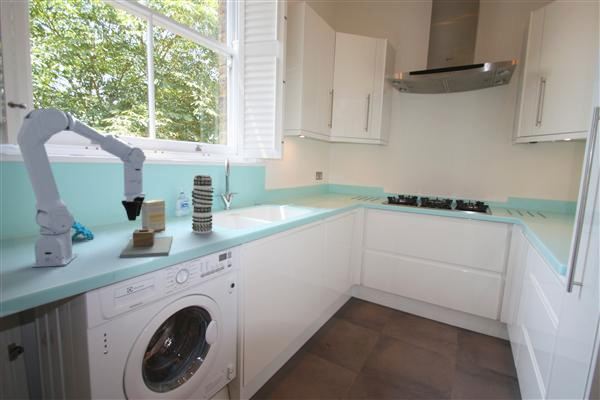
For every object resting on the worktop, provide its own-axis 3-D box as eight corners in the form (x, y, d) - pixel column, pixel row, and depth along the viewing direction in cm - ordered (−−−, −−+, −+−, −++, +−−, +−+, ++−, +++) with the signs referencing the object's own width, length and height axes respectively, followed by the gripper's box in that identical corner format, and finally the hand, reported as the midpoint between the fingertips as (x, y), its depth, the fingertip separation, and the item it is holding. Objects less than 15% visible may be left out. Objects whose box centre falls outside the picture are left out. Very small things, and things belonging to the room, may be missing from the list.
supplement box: (159, 227, 131) (158, 199, 129) (165, 229, 129) (165, 200, 127) (141, 231, 124) (140, 200, 122) (147, 233, 121) (147, 202, 120)
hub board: (168, 255, 97) (168, 240, 96) (119, 257, 92) (119, 242, 91) (172, 238, 115) (172, 226, 114) (132, 240, 110) (132, 227, 110)
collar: (152, 246, 101) (152, 232, 101) (133, 247, 99) (132, 233, 99) (154, 242, 106) (154, 229, 105) (135, 243, 104) (135, 229, 103)
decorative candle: (217, 231, 130) (217, 175, 126) (197, 234, 123) (197, 175, 119) (206, 227, 136) (207, 174, 132) (187, 230, 129) (187, 174, 126)
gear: (92, 238, 105) (67, 219, 102) (78, 250, 104) (53, 231, 101) (98, 234, 115) (76, 217, 112) (86, 245, 114) (63, 228, 111)
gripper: (142, 183, 99) (143, 222, 100) (148, 179, 112) (149, 214, 114) (118, 182, 96) (119, 222, 98) (128, 179, 110) (129, 214, 112)
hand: (134, 218), depth 106 cm, fingers open, 7 cm apart
